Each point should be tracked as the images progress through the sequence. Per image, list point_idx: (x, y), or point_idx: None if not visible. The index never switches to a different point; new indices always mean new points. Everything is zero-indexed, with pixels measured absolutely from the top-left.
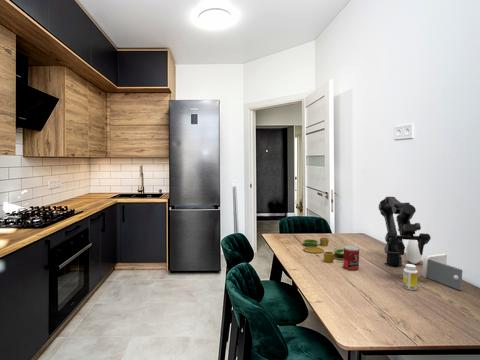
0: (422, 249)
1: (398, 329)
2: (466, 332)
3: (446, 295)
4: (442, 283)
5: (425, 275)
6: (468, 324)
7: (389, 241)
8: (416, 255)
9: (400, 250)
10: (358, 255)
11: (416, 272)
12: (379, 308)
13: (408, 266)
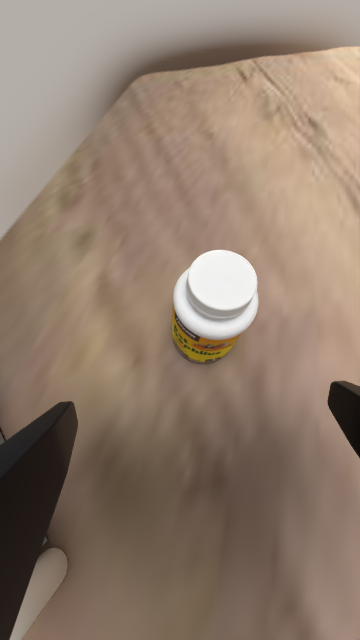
0: (10, 443)
1: (279, 88)
2: (136, 100)
3: (69, 290)
4: (2, 439)
5: (49, 555)
6: (110, 127)
7: None
8: None
9: (358, 393)
10: None
11: (187, 269)
12: (322, 155)
13: (242, 257)
